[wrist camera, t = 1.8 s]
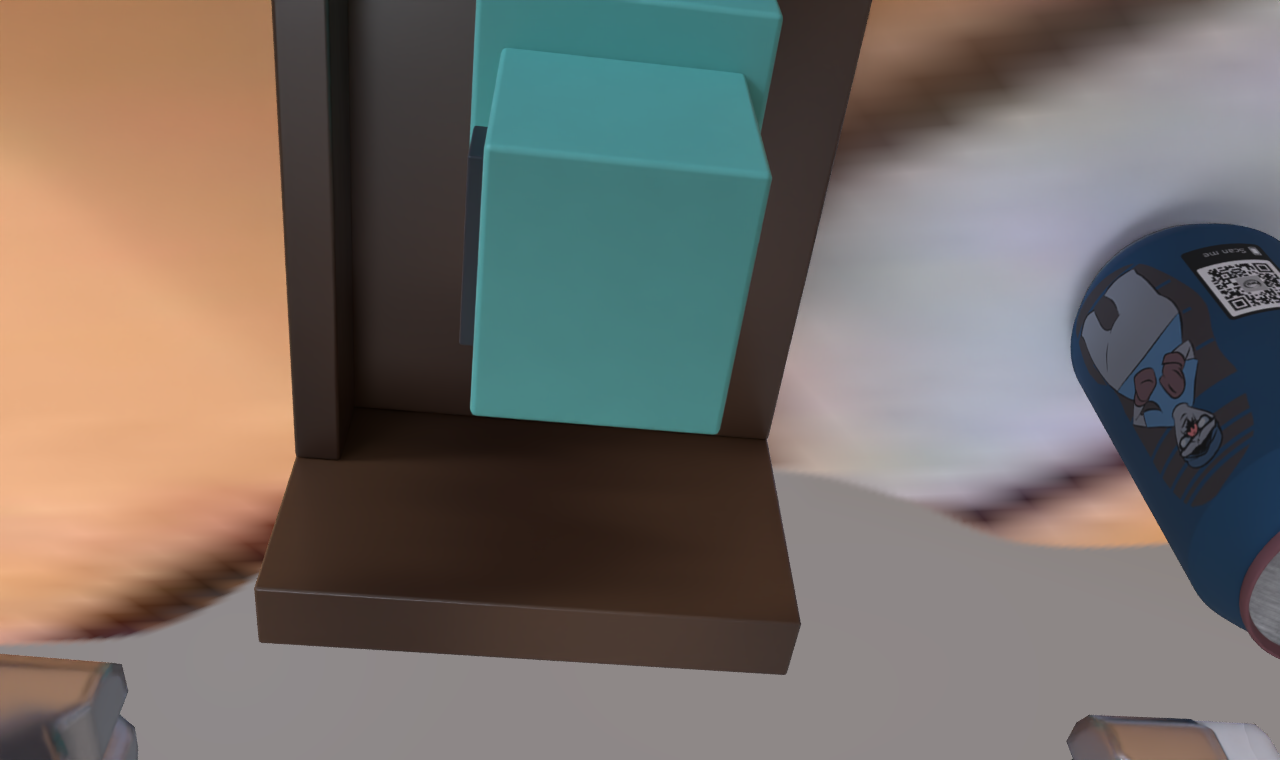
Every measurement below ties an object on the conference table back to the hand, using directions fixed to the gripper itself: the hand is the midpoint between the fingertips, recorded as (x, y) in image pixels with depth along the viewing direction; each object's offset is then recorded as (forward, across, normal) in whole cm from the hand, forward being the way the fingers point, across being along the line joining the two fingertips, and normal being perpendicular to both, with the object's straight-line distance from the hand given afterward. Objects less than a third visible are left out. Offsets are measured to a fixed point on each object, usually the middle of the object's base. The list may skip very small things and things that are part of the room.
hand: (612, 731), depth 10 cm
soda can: (+24, -19, +9) cm, 32 cm away
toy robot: (+16, 0, 0) cm, 16 cm away
